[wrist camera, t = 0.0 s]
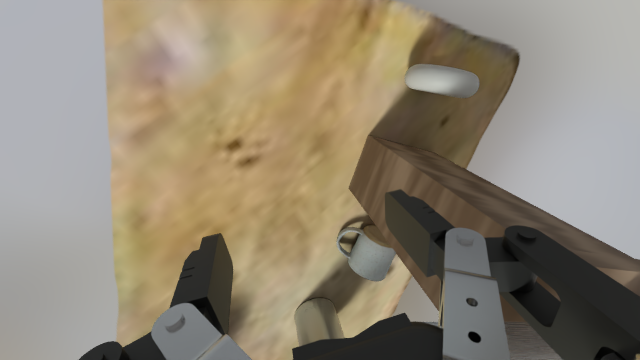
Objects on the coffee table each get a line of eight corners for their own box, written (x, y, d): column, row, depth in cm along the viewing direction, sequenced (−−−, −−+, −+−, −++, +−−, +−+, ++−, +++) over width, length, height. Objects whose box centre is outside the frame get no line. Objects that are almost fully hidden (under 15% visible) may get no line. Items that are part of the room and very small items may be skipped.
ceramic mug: (390, 225, 53) (409, 249, 46) (374, 257, 56) (390, 284, 49) (343, 216, 50) (356, 242, 43) (329, 251, 52) (339, 279, 46)
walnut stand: (341, 192, 47) (475, 395, 19) (365, 128, 43) (581, 265, 15) (414, 204, 52) (603, 378, 24) (441, 148, 48) (708, 279, 20)
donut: (450, 73, 42) (502, 77, 34) (442, 95, 44) (490, 105, 35) (396, 60, 39) (437, 61, 31) (389, 84, 41) (427, 92, 32)
